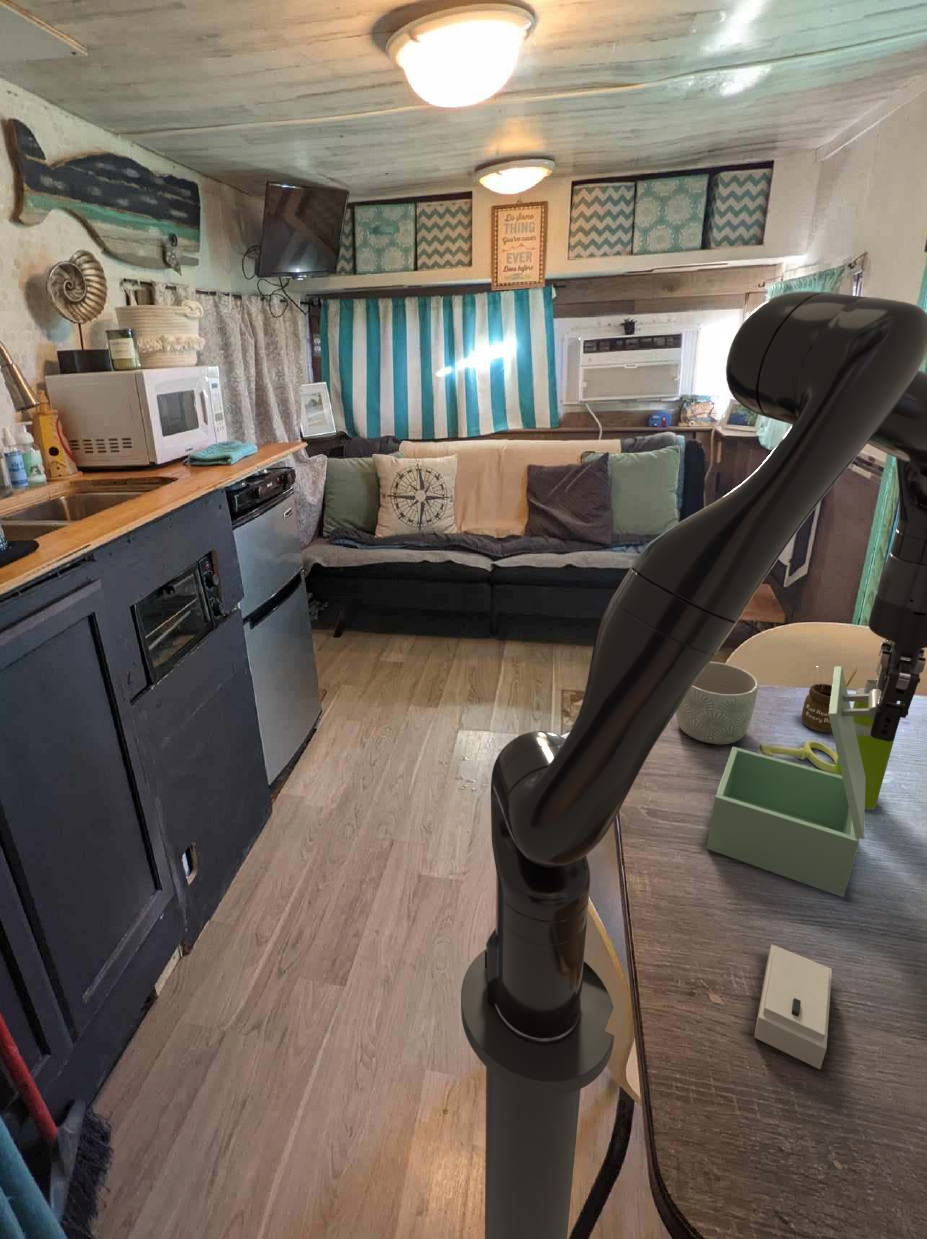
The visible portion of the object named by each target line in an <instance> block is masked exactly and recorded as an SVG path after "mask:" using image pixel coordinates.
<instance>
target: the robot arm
mask: <svg viewBox="0 0 927 1239" xmlns="http://www.w3.org/2000/svg"><path fill="white" fill-rule="evenodd" d="M926 353H927V312H926V311H925V310H923V309H922V308H921V307H920V306H918V305H916V304H914V303H911V302H906V301H900V300H895V299H889V298H881V297H874V296H871V297H868V296H860V295H852V294H843V293H835V292H827V291H820V290H819V291H817V290H816V291H815V290H798V291H790V292H785V293H781V294H777V295H775V296H774V297H772V298H769V299H767V300H766V301H764V302H762V304H760V305H758V306H757V307H756V308H755V309H754V310H753V311H752V312H750V313H749V315H748V316H747V317H746V319H745V320H744V321H743V323H741V325H740V327H739V328H738V331H737V332H736V334H735V336H734V337H733V340H732V342H731V344H730V347H729V351H728V354H727V358H726V365H725V378H726V383H727V386H728V390H729V391H730V394H731V395H732V396H733V398H734V400H736V401H737V402H738V403H739V404H740V405H741V406H742V407H744V408H745V409H747V410H748V411H750V412H752V413H755V414H757V415H759V416H762V417H765V418H768V419H773V420H775V421H778V422H782V423H786V424H789V425H791V426H790V428H789V429H788V431H787V432H786V433H785V435H784V436H783V438H782V439H781V440H780V442H779V443H778V444H777V445H776V447H775V448H774V449H773V450H772V451H771V452H770V454H769V455H768V456H767V457H766V459H765V460H764V461H763V462H762V464H761V465H760V466H759V467H758V468H757V469H756V470H755V471H754V472H753V473H752V474H751V475H750V476H748V477H747V478H746V479H745V480H744V481H743V482H742V483H741V484H739V485H738V486H736V487H735V488H733V489H732V490H731V491H730V492H728V493H727V494H724V495H722V496H721V497H720V498H718V499H717V500H715V501H714V502H712V503H710V504H709V505H707V506H705V507H703V508H702V509H700V510H698V511H696V512H695V513H693V514H691V515H690V516H687V517H686V518H684V519H683V520H680V521H679V522H677V523H675V524H674V525H673V526H671V527H669V528H668V529H667V530H664V531H663V532H662V533H660V534H659V535H658V536H656V537H655V538H654V539H652V540H651V541H650V542H649V543H648V544H647V545H646V546H644V547H643V548H642V550H641V551H640V552H639V553H638V555H637V557H636V558H635V560H634V561H633V563H632V564H631V567H630V568H629V569H628V571H627V573H626V574H625V576H624V578H623V579H622V581H621V582H620V584H619V586H618V587H617V589H616V591H615V592H614V594H613V596H612V598H611V599H610V601H609V603H608V604H607V607H606V609H605V611H604V613H603V615H602V618H601V621H600V623H599V626H598V629H597V633H596V636H595V641H594V645H593V649H592V652H591V659H590V663H589V670H588V675H587V680H586V685H585V690H584V694H583V698H582V701H581V705H580V709H579V712H578V714H577V717H576V719H575V721H574V724H573V725H572V727H571V729H570V731H569V733H568V734H567V736H566V737H563V736H561V735H559V734H556V733H554V732H551V731H547V730H546V731H545V730H534V731H530V732H525V733H522V734H520V735H518V736H517V737H514V738H513V739H512V740H510V741H509V742H508V743H507V744H506V745H504V747H503V748H502V749H501V750H500V751H499V754H498V755H497V756H496V759H495V762H494V764H493V767H492V770H491V775H490V776H491V777H490V826H491V827H490V829H491V830H490V831H491V846H492V854H493V859H494V866H495V927H494V929H493V931H492V933H491V934H490V935H489V937H488V939H487V941H486V943H485V945H486V948H485V949H486V950H485V949H484V950H485V968H486V969H487V1003H488V1004H490V1005H491V1006H493V1007H494V1008H495V1009H496V1012H497V1014H498V1016H499V1018H500V1020H501V1021H502V1023H503V1024H504V1025H505V1026H506V1027H507V1029H509V1030H510V1031H511V1032H512V1033H513V1034H515V1035H516V1036H518V1037H519V1038H521V1039H523V1040H525V1041H528V1042H531V1043H535V1044H544V1045H545V1044H554V1043H558V1042H560V1041H562V1040H564V1039H566V1038H567V1037H569V1036H570V1035H571V1034H572V1033H573V1031H574V1030H575V1029H576V1027H577V1025H578V1022H579V1018H580V1009H581V1005H580V1003H581V992H582V983H583V982H582V974H583V962H584V961H585V951H586V950H585V949H586V939H587V938H586V937H587V928H588V913H589V903H590V902H589V900H590V888H591V870H590V865H589V861H588V857H587V855H588V854H590V853H591V852H592V851H593V850H594V849H595V848H596V847H597V846H598V845H599V844H600V843H601V841H602V840H603V839H604V838H605V836H606V835H607V833H608V831H609V830H610V828H611V826H612V825H613V823H614V822H615V820H616V818H617V815H618V814H619V812H620V810H621V808H622V806H623V805H624V802H625V800H626V798H627V796H628V795H629V792H630V790H631V789H632V787H633V785H634V783H635V781H636V779H637V777H638V775H639V773H640V771H641V769H642V768H643V766H644V764H645V762H646V760H647V759H648V757H649V755H650V753H651V752H652V750H653V748H654V746H655V745H656V744H657V742H658V740H659V738H660V737H661V735H662V734H663V732H664V731H665V729H666V728H667V727H668V725H669V723H670V721H671V720H672V718H673V717H674V715H676V711H677V709H678V707H679V706H680V704H681V703H682V701H683V699H684V698H685V696H686V695H687V693H688V692H689V690H690V689H691V687H692V686H693V684H694V683H695V681H696V680H697V678H698V677H699V675H700V674H701V673H702V671H703V670H704V669H705V667H706V666H707V665H708V664H709V662H712V660H713V659H714V657H715V656H716V654H717V653H718V652H719V650H720V649H721V647H722V646H723V645H724V643H725V642H726V640H727V638H728V637H729V635H730V634H731V633H732V631H733V629H734V628H735V627H736V625H737V624H738V623H737V622H739V621H740V619H741V617H742V616H743V614H744V613H745V611H746V610H747V608H748V606H749V604H750V603H751V601H752V599H753V598H754V596H755V595H756V593H757V591H758V590H759V588H760V587H761V585H762V583H763V582H764V581H765V579H766V577H767V576H768V574H769V573H770V572H771V570H772V569H773V567H774V566H775V565H776V563H777V561H778V560H779V559H780V557H781V555H782V554H783V553H784V551H785V550H786V548H787V547H788V545H789V544H790V543H791V541H792V540H793V538H794V536H796V534H797V533H798V531H799V530H800V529H801V527H803V524H805V522H806V521H807V519H808V518H809V516H810V515H811V514H812V513H813V511H814V510H815V509H816V508H817V506H818V505H819V503H820V502H821V501H822V500H823V499H824V497H825V496H826V495H827V494H828V493H829V491H830V490H831V489H832V488H833V486H834V485H835V484H836V482H837V481H838V480H839V479H840V478H841V476H843V474H844V473H845V471H846V470H847V469H848V468H849V467H850V465H851V464H852V463H853V462H854V460H855V459H856V458H857V457H858V456H859V455H860V453H861V452H862V451H863V449H864V448H865V447H866V446H867V445H870V446H871V447H873V448H875V449H877V450H879V451H881V452H883V453H885V454H888V455H890V456H892V457H894V458H895V463H896V464H895V465H896V472H897V473H896V474H897V484H898V519H897V520H898V521H897V524H896V528H895V529H896V530H895V532H894V536H893V539H892V543H891V547H890V551H889V554H888V557H887V559H886V561H885V564H884V566H883V568H882V571H881V573H880V578H879V581H878V585H877V589H876V593H875V595H874V596H875V597H874V600H873V604H872V608H871V612H870V615H869V619H868V623H867V625H868V629H869V630H870V631H871V632H872V633H873V634H875V635H876V636H878V637H880V638H882V639H884V640H885V641H881V643H880V645H879V650H878V651H879V652H878V660H877V663H876V668H875V672H876V675H877V678H876V679H875V680H876V686H877V688H876V689H879V690H880V695H879V699H878V703H876V707H877V710H876V713H875V717H874V720H873V724H872V727H871V736H872V737H873V738H876V739H880V740H884V741H889V742H890V741H893V740H894V741H895V739H896V735H897V730H898V729H899V728H898V727H899V724H900V721H901V719H906V718H907V716H908V715H909V710H910V707H911V704H912V701H913V698H914V696H915V694H916V691H917V688H918V686H919V684H920V682H921V677H920V676H921V673H923V672H924V670H925V666H926V662H927V657H924V656H925V651H926V650H925V648H927V372H926V371H923V370H920V368H921V366H922V364H923V361H924V359H925V356H926ZM898 702H899V703H898ZM895 734H896V735H895ZM894 738H895V739H894Z"/></svg>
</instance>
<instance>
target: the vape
mask: <svg viewBox="0 0 927 1239" xmlns="http://www.w3.org/2000/svg"><path fill="white" fill-rule="evenodd" d="M876 688H877V686H876V679H867V680H866V681H865V684H864V687H859V688H857V689H856V690H855V691H856V692H855V694H869V692H870V691H871V690H873V689H876ZM861 708H868V701H853V706H852V709H861ZM873 720H874V719H872V718H871V717H870V716H853V721H854V726H855V731H856V735H857V740H858V745H859V749H860V754H861V759H862V764H863V768H864V773H865V778H866V780H865V810H874V809H876V807H877V803H878V799H879V796H880V792H881V789H882V786H883V781H884V779H885V774H886V772H887V768H888V763H889V760H890V756H891V753H892V748H893V746H894V743H895V739H896V737H895V738H894V740H893V741H890V742H889V741H884V740H880V739H876V738H873V737H872V736H871V727H872V724H873ZM896 735H897V733H896V734H895V736H896ZM835 765H836V766H835V770H834V772H833V774H837V775H841V776H842V773H841V769H840V764H839V759H838V758H837V762H836V763H835Z"/></svg>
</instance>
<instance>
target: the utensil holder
mask: <svg viewBox="0 0 927 1239" xmlns="http://www.w3.org/2000/svg"><path fill="white" fill-rule="evenodd" d="M815 669H817V671H816V672H817V674H816V675H817V680H819V669H823V670H822V671H821V672H822V674H823V676H822V681H823V682H822V683H815V681H814V680H815V678H814V676H812V674H814V671H815ZM857 669H858V667H855V668H854V670H853V671H852V673H851V674H850V676H849V677H848V679H847V680H846V681H845V683H846V688H847V687H848V686H849V685H850V683H851V682H852V680H853V678H854V677H855V675H856V674H857ZM812 670H813V671H812ZM824 673H827V671H826V670H825V669H824V668H822V666H814V667H813V668H811V670H810V671H809V679H810V680H811V681H810V683H811V686H810V688H809V690H808V694H807V695H806V696H805V699H804V702H803V707H802V711H801V716H800V717H801V718H800V720H801V723H802V724H803V725H804V726H806V727H807V728H808V729H810V730H813V731H815V732H818V733H825V734H833V732H832V727H831V723H830V718H829V706H830V699H831V691H832V684H827V682H825V680H826V674H824Z"/></svg>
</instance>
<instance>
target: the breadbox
mask: <svg viewBox="0 0 927 1239" xmlns="http://www.w3.org/2000/svg"><path fill="white" fill-rule="evenodd" d="M859 843H860V839H859V838H856V837H855V833H854V828H853V823H852V819H851V814H850V810H849V805H848V801H847V796H846V791H845V787H844V782H843V778H842V776H841V775H837V774H834V772H828V771H825V770H822V769H817V768H814V767H810V766H806V765H804V764H799V763H795V762H792V761H789V760H788V761H787V760H785V759H781V758H778V757H774V756H773V757H770V756H766V755H764V754H761V753H758V752H754V751H750V750H748V749H743V748H739V747H736V746H732V747H731V750H730V753H729V755H728V759H727V762H726V764H725V768H724V770H723V774H722V776H721V780H720V782H719V784H718V788H717V791H716V793H715V797H714V802H713V808H712V814H711V820H710V827H709V833H708V839H707V845H706V850H709V851H711V852H714V853H717V854H719V855H723V856H726V857H729V858H730V859H735V860H737V861H740V862H742V863H745V864H747V865H751V866H754V867H756V868H758V869H759V868H760V869H763V870H765V871H768V872H771V873H773V874H777V875H779V876H781V877H785V878H788V879H790V880H792V881H796V882H799V883H801V884H804V885H807V886H810V887H813V888H816V889H818V890H822V891H823V892H827V893H829V894H833V895H835V896H838V897H841V898H844V897H845V894H846V891H847V887H848V883H849V881H850V880H849V879H850V876H851V872H852V869H853V866H854V862H855V858H856V854H857V850H858V847H859Z"/></svg>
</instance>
